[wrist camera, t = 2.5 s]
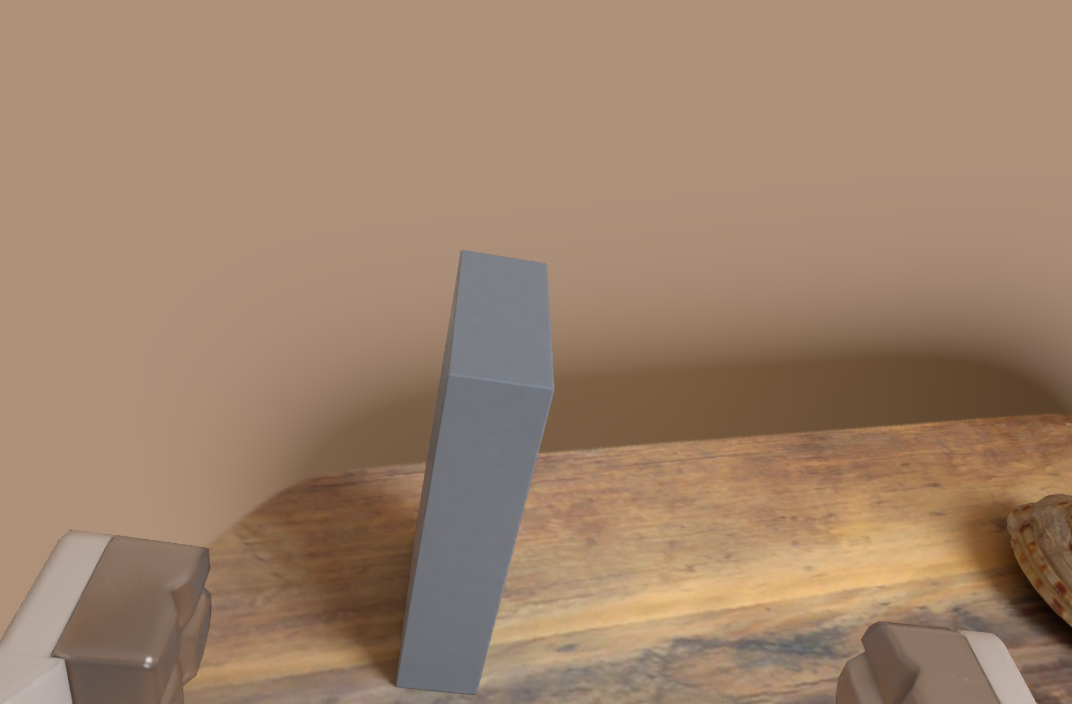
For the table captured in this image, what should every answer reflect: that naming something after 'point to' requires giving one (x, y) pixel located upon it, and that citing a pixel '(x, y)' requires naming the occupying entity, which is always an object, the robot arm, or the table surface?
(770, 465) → the table surface
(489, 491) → the grey rectangular block
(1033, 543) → the seashell
